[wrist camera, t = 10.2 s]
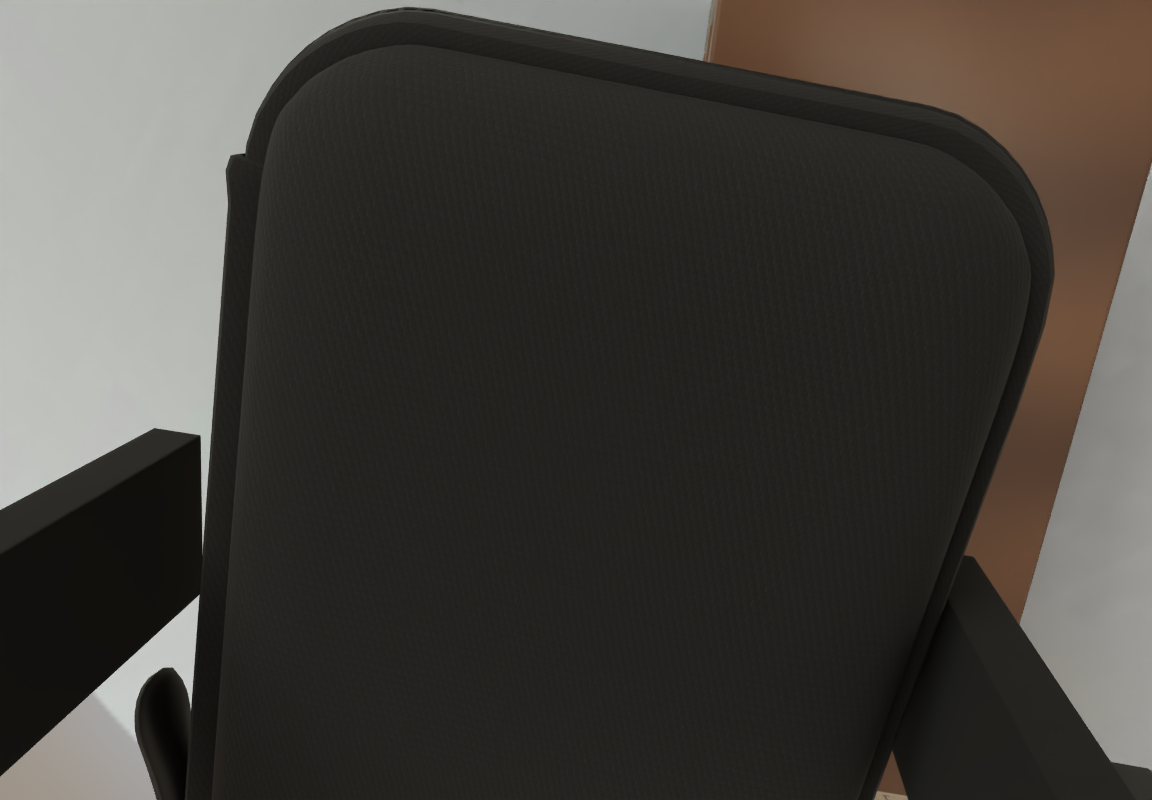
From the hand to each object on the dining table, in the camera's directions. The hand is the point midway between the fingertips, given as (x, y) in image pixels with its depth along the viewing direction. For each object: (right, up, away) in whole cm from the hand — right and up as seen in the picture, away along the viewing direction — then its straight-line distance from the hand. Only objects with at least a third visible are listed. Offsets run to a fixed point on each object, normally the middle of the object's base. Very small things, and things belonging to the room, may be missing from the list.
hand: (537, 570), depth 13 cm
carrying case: (0, 0, 0) cm, 0 cm away
